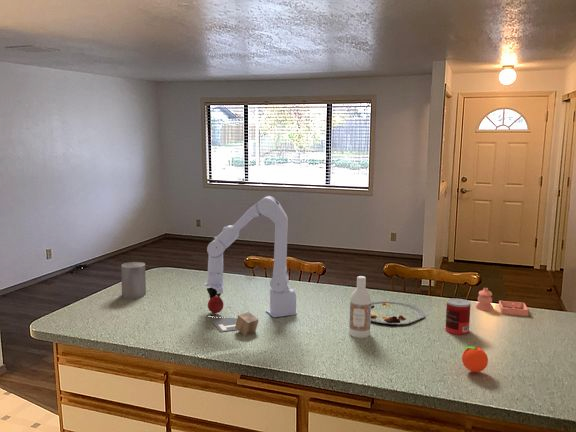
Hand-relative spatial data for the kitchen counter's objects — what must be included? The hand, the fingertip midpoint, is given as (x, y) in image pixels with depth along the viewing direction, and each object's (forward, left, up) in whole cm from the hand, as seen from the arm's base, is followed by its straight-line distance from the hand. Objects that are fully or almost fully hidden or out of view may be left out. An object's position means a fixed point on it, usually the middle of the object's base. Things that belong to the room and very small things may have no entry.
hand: (214, 306), depth 190 cm
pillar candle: (+25, -33, -3) cm, 42 cm away
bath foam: (-39, +41, -3) cm, 56 cm away
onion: (+1, +2, -2) cm, 3 cm away
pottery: (-100, +43, -3) cm, 109 cm away
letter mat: (-2, +12, -2) cm, 12 cm away
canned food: (-71, +52, -3) cm, 88 cm away
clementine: (-53, +77, -3) cm, 94 cm away
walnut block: (-3, +22, +1) cm, 22 cm away
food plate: (-59, +29, -3) cm, 66 cm away
